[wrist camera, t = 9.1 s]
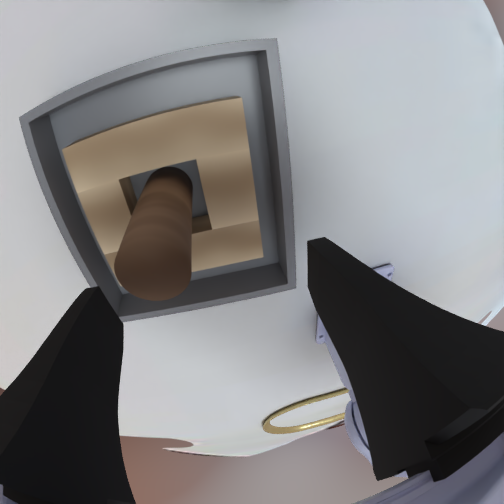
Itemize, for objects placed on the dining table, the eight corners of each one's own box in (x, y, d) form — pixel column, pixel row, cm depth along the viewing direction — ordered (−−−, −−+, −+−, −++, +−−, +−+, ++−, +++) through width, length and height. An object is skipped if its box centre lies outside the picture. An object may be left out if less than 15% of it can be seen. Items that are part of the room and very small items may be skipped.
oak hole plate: (257, 240, 19) (263, 257, 18) (125, 268, 19) (121, 286, 17) (236, 95, 13) (242, 97, 12) (75, 140, 13) (61, 149, 11)
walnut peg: (197, 205, 17) (199, 293, 11) (152, 215, 17) (131, 305, 10) (187, 161, 15) (179, 230, 9) (140, 173, 15) (101, 247, 9)
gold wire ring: (396, 392, 55) (398, 397, 54) (261, 433, 51) (262, 439, 49) (428, 352, 44) (432, 358, 43) (261, 404, 40) (263, 413, 38)
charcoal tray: (285, 262, 22) (296, 288, 19) (120, 296, 21) (114, 323, 18) (263, 45, 12) (276, 38, 10) (43, 109, 11) (18, 117, 9)
